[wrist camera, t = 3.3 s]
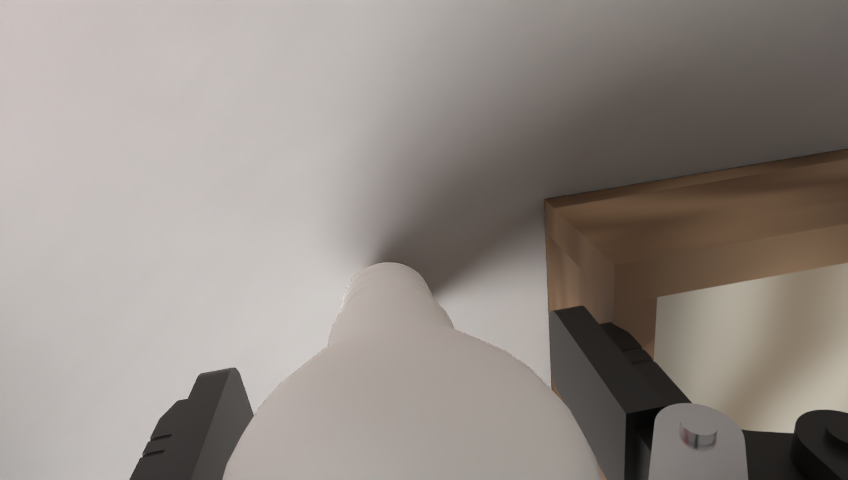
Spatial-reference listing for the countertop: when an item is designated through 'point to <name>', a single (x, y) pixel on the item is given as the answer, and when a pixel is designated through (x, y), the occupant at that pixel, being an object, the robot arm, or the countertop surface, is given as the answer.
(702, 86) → the countertop surface
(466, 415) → the lightbulb
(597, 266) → the parts box
